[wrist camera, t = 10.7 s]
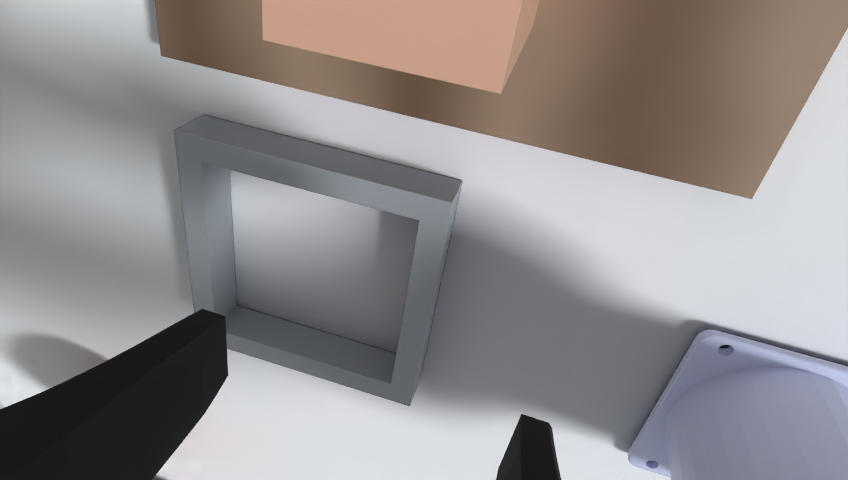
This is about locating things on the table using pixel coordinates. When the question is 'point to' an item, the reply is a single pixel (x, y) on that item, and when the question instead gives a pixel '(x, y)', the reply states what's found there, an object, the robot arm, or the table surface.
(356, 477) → the table surface
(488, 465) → the table surface
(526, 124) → the board
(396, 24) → the peach cube with handle
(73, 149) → the table surface
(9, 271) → the table surface
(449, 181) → the collar
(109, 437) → the robot arm
